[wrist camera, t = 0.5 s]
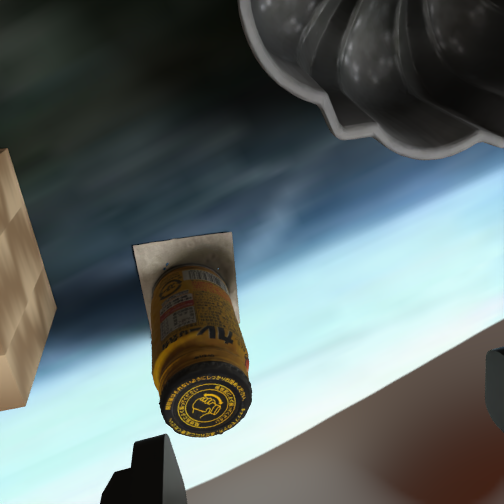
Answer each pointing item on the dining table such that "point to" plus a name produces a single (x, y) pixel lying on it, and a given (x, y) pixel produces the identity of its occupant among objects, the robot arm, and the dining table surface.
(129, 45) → the dining table surface
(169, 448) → the robot arm
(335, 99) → the bundt pan
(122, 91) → the dining table surface
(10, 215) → the oak block
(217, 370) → the condiment
